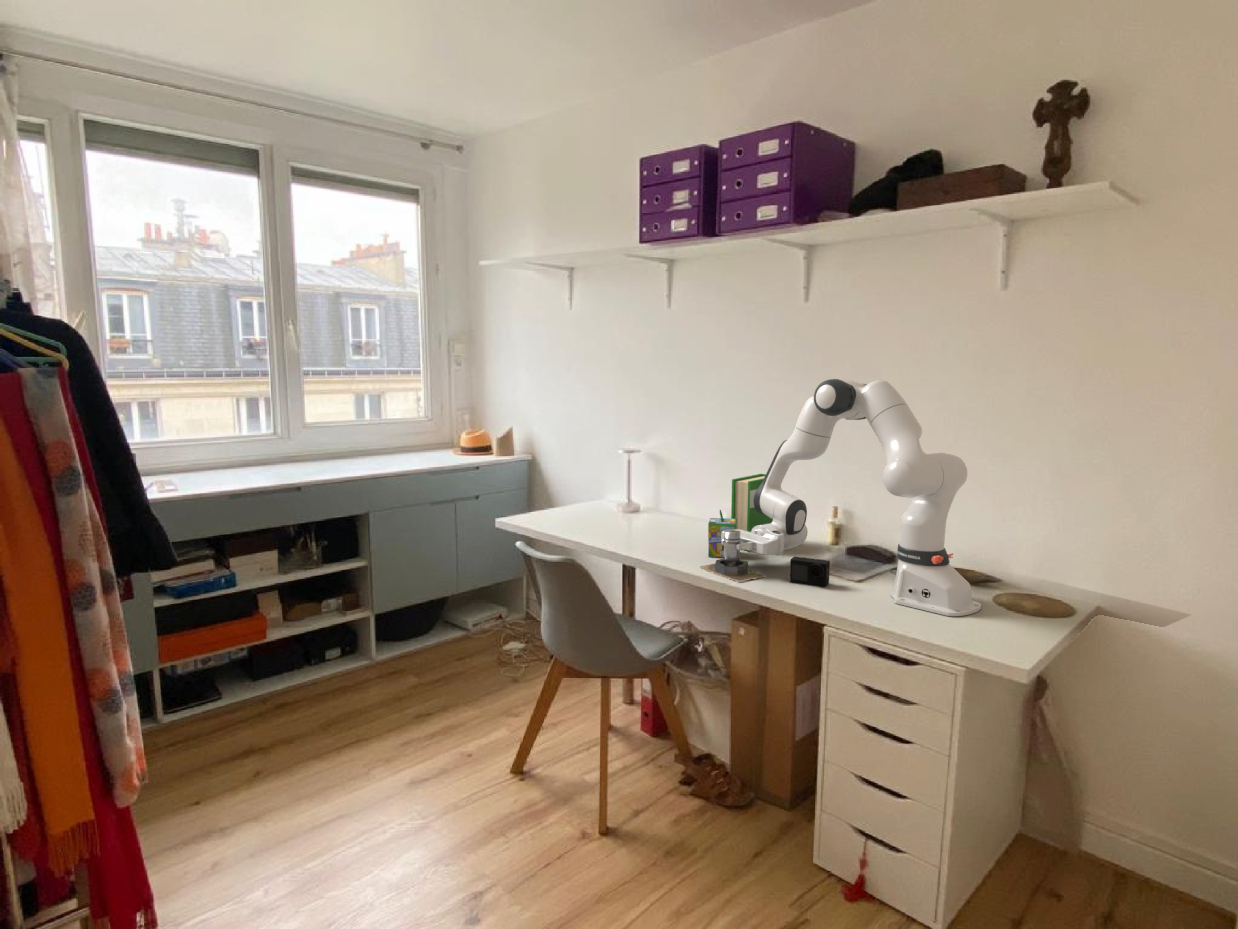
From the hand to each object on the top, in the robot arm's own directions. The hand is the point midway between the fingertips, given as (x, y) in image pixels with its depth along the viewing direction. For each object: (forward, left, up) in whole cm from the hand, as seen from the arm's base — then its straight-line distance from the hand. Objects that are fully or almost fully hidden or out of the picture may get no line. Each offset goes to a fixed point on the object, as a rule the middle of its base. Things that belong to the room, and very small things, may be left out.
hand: (729, 544), depth 220 cm
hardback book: (+21, -30, -9) cm, 38 cm away
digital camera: (-21, -12, -9) cm, 25 cm away
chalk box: (+18, -13, -9) cm, 24 cm away
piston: (0, -1, -8) cm, 8 cm away
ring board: (0, -1, -9) cm, 9 cm away
